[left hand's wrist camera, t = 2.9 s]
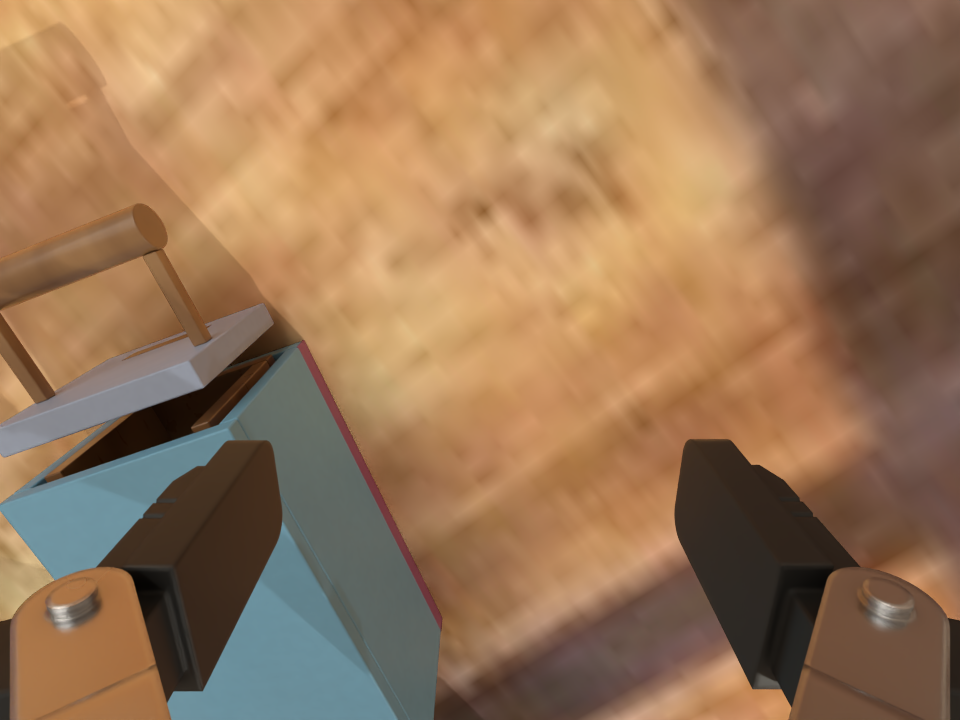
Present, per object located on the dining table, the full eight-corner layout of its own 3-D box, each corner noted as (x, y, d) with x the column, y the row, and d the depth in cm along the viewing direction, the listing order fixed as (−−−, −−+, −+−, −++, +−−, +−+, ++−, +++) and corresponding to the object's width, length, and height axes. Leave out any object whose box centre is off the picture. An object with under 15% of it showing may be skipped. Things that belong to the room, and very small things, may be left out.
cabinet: (135, 399, 32) (-6, 506, 23) (304, 339, 31) (228, 427, 21) (299, 657, 39) (243, 820, 30) (442, 618, 38) (430, 775, 28)
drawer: (41, 254, 28) (-120, 298, 21) (206, 189, 27) (100, 209, 19) (276, 625, 37) (224, 751, 29) (409, 586, 35) (390, 707, 28)
